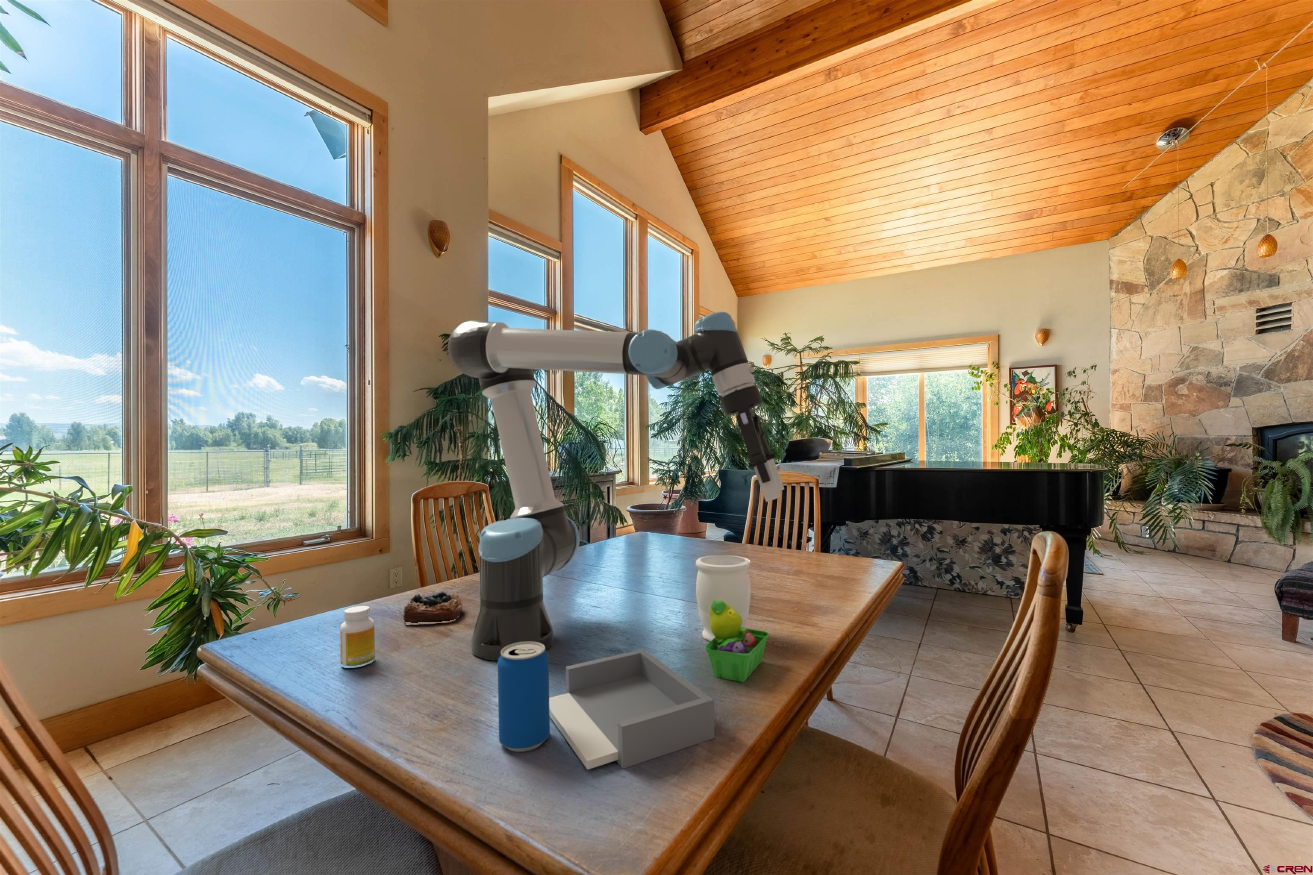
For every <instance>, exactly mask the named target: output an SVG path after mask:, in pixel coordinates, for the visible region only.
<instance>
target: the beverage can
mask: <svg viewBox="0 0 1313 875" xmlns="http://www.w3.org/2000/svg"><path fill="white" fill-rule="evenodd" d="M549 664H550V663H549V654H548V651H547V650H545V646H544V645H543V644H541V643H538V642H529V641H528V642H518V643H514V644H510V645H508V646H506V647H504V648H503V649H502V650H501V656H500V657H499V659H498V661H497V698H498V699H497V700H498V702H497V703H498V706H497V707H498V740H499V744H501V745H502V746H503V747H504V748H506V749H508V750H510V751H512V752H516V753H518V752H521V753H522V752H528V751H532V750H535V749H537V748H538V747H540V746H542V744H543V743H544V742H545V741H546V740H547V739H549V736H550V732H551V731H550V730H551V728H550V726H551V724H550V723H551V722H550V719H551V717H550V714H549V698H550V672H549V671H550V670H549V669H550V668H549Z"/></svg>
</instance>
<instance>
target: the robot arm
mask: <svg viewBox="0 0 1313 875" xmlns="http://www.w3.org/2000/svg"><path fill="white" fill-rule="evenodd" d="M735 325H736V324H735V322H734V320H733V318H732V316H731V314H729V313H728V312H726V311H718V312H712V313H710V314H708V315H705V316H704V317H702V318H700V319H698V320H696V322H695V324H694V333H693V334H692V335H690V336H687V337H686V338H683V339H680V340H678V341H675V340H674V339H673V338H671V336H670V335H668V334H667V333H665V332H663V331H662V330H656V329H652V328H651V329H644V330H642V331H639V332H631V331H630V332H629V331H627V332H626V331H605V330H604V331H603V330H602V331H601V330H599V331H598V330H575V329H549V328H548V329H547V328H546V329H545V328H544V329H543V328H521V327H520V328H517V327H509V326H508V325H507V324H506V323H504V322H501V321H499V322H497V321H485V320H480V319H470V320H466V321H464V322H462V323H460V324H459V325H458V326H456V328H454V330H453V331H452V332H451V334H450V336H449V339H448V344H447V352H448V356H449V358H450V361H451V363H452V364H453V365H454V367H455V368H456V369H457V370H458V371H459V372H461V373H462V374H464V375H466V376H469V377H471V378H475V379H478V381H479V386H480V389H481V394H482V395H483V396H484V397H485V398H487V399H489V400H490V401H491V405H492V410H493V415H494V419H495V423H496V427H497V431H498V437H499V441H500V446H501V450H502V454H503V458H504V462H505V467H506V472H507V476H508V480H509V485H510V489H511V494H512V498H513V499H512V500H513V503H514V507H515V508H514V511H513V512H512V514H510V516H509V518H507V519H506V520H497V521H495V522H492V523H490V524H487V525H486V526H485V527H484V528H483V529H482V530H481V532H480V534H479V543H478V551H477V552H478V555H479V593H480V595H479V598H480V609H479V612H478V615H477V618H476V622H475V625H474V628H473V631H472V635H471V640H470V642H471V650H472V651H471V650H470V651H471V653H472V652H473V653H472V654H473V655H474V654H475V655H476V656H475V655H474V656H475V657H477V656H478V657H477V658H479V657H481V658H480V659H482V658H484V659H483V660H486V661H487V660H488V661H497V662H498V659H499V657H500V656H501V650H502V649H503V648H504V647H506V646H508V645H510V644H514V643H518V642H528V641H529V642H538V643H541V644H543V645H544V646H545V651H547V650H549V648H551V646H553V644H554V630H553V626H552V623H551V620H550V617H549V614H548V611H547V609H546V605H545V603H544V602H545V601H544V577H547V576H548V575H551V574H552V573H554V572H558V571H560V570H562V569H563V568H565V566H567V565H568V564H569V563H570V562H571V561H573V559H574V558H575V556H576V554H577V553H578V550H579V547H580V537H581V536H580V531H579V529H578V527H577V524H576V523H575V522H574V520H572V519H571V518H569V517H568V516H567V512H566V509H565V505H564V502H563V503H562V502H561V501H560V500H558V499H557V498H556V497H555V492H554V488H553V483H552V479H551V475H550V472H549V467H548V462H547V458H546V453H545V449H544V446H543V441H542V440H543V439H542V436H541V431H540V427H539V423H538V418H537V415H536V411H535V406H534V401H533V397H532V396H533V395H532V391H533V389H534V388H535V387H536V385H537V383H536V379H535V375H536V370H541V371H542V370H543V371H544V370H545V371H560V372H561V371H562V372H563V371H564V372H580V373H581V372H583V373H584V372H585V373H599V374H600V373H602V374H618V375H619V374H621V375H632V376H645V378H646V380H647V382H648V383H649V384H650V385H651V387H652V388H654V389H656V390H660V389H663V388H667V387H672V386H674V385H675V384H677V383H679V382H682V381H684V380H687V379H689V378H692V377H694V376H696V375H698V374H701V373H705V372H706V371H710V374H711V379H712V381H713V384H714V387H715V390H716V392H717V395H718V396H720V397H721V398H720V403H721V405H722V408H723V411H724V413H725V415H726V416H729V417H730V416H733V415H735V416H736V420H737V425H738V428H739V430H740V431H741V436H742V437H743V441H744V446H745V448H746V451H747V455H748V458H749V462H748V463H747V465H748V468H749V469H752V468H753V470H754V472H755V475H756V479H757V480H758V483H759V487H760V489H761V492H762V494H763V498H764V500H765V503H768V502H771V501H773V500H776V499H779V498H781V493H780V492H781V491H783V490H785V487H784V485H783V484H784V483H783V482H782V478H781V476H780V474H779V471H778V468H777V465H776V463H775V459H777V455H776V453H775V452H772V450H771V448H770V446H769V444H768V441H767V439H766V436H765V430H764V428H763V426H762V421H761V417H760V416H759V415H757V413H754V411H753V409H754V408H757V407H758V406H760V405H762V404H763V397H762V395H761V392H760V390H759V387H758V386H757V385H754V384H755V382H756V380H755V377H754V375H753V374H752V373H754V372H755V371H756V370H755V367H754V366H752V367H750V364H749V361H748V357H747V354H746V352H745V349H744V345H743V343H742V340H741V337H740V334H739V332H738V329H737V328H736V326H735Z"/></svg>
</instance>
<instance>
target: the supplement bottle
mask: <svg viewBox="0 0 1313 875" xmlns="http://www.w3.org/2000/svg"><path fill="white" fill-rule="evenodd" d="M370 610H371V609H370V606H368V605H357V606H352V607H349V608H346V609H344V613H343V615H344V616H343V618H344V620H345V621H344V622H342V623H341V625H340V628H339V637H340V638H339V644H340V665H341V664H342V665H343V666H357V665H362V664H365V663H368V662H370V661H372V660H374V659H376V642H375V641H376V640H375V639H376V638H375V621H374V620H373V618H371V617H370V614H371V611H370ZM374 661H375V660H374Z"/></svg>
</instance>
